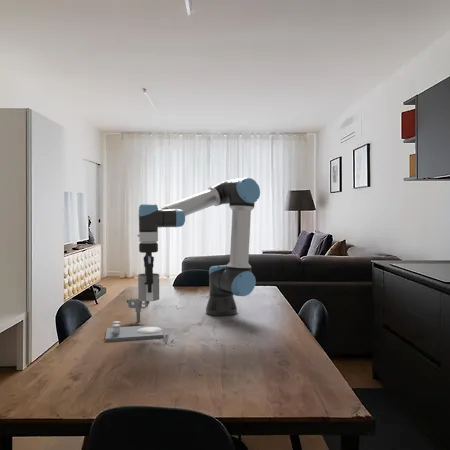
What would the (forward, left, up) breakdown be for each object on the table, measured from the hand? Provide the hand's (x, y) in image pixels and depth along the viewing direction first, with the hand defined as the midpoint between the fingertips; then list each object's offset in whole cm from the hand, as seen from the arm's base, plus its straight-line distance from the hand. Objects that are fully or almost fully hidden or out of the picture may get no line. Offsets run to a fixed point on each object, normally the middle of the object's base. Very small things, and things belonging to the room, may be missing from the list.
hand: (149, 298), depth 178 cm
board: (+6, 0, -14) cm, 15 cm away
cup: (0, 0, -1) cm, 1 cm away
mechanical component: (+4, -21, -14) cm, 26 cm away
